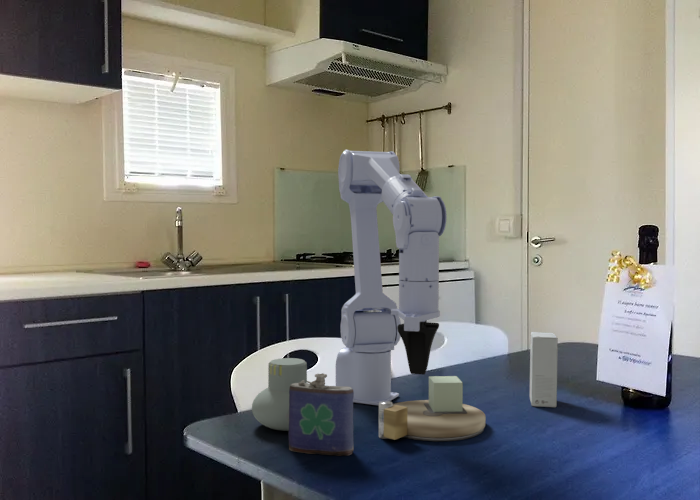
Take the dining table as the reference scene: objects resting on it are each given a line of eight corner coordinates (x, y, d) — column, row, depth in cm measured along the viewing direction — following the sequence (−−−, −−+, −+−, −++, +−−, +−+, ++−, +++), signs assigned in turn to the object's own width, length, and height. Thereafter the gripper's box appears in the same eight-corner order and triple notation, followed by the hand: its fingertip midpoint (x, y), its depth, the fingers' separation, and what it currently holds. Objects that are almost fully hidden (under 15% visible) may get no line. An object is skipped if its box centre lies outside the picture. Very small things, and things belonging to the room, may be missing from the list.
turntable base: (361, 435, 98) (361, 401, 98) (403, 406, 113) (403, 377, 113) (464, 451, 91) (464, 414, 91) (494, 418, 106) (495, 387, 106)
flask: (355, 450, 91) (355, 373, 91) (349, 458, 88) (349, 377, 88) (292, 444, 94) (291, 369, 93) (284, 451, 91) (284, 373, 90)
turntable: (372, 408, 110) (372, 384, 110) (470, 406, 111) (470, 382, 111) (384, 439, 94) (385, 411, 94) (499, 437, 95) (499, 409, 95)
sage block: (428, 404, 108) (428, 376, 107) (456, 403, 108) (456, 376, 108) (433, 411, 103) (433, 382, 103) (462, 411, 103) (462, 382, 103)
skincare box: (557, 408, 113) (558, 337, 112) (531, 406, 114) (532, 336, 113) (553, 399, 119) (554, 332, 118) (529, 397, 119) (529, 331, 119)
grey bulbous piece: (297, 413, 109) (297, 353, 109) (332, 424, 103) (331, 360, 103) (242, 427, 102) (242, 362, 101) (276, 439, 96) (276, 371, 95)
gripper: (399, 275, 104) (399, 361, 105) (382, 283, 90) (381, 383, 91) (444, 276, 103) (444, 364, 103) (434, 285, 89) (433, 386, 89)
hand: (418, 373), depth 97 cm, fingers closed
